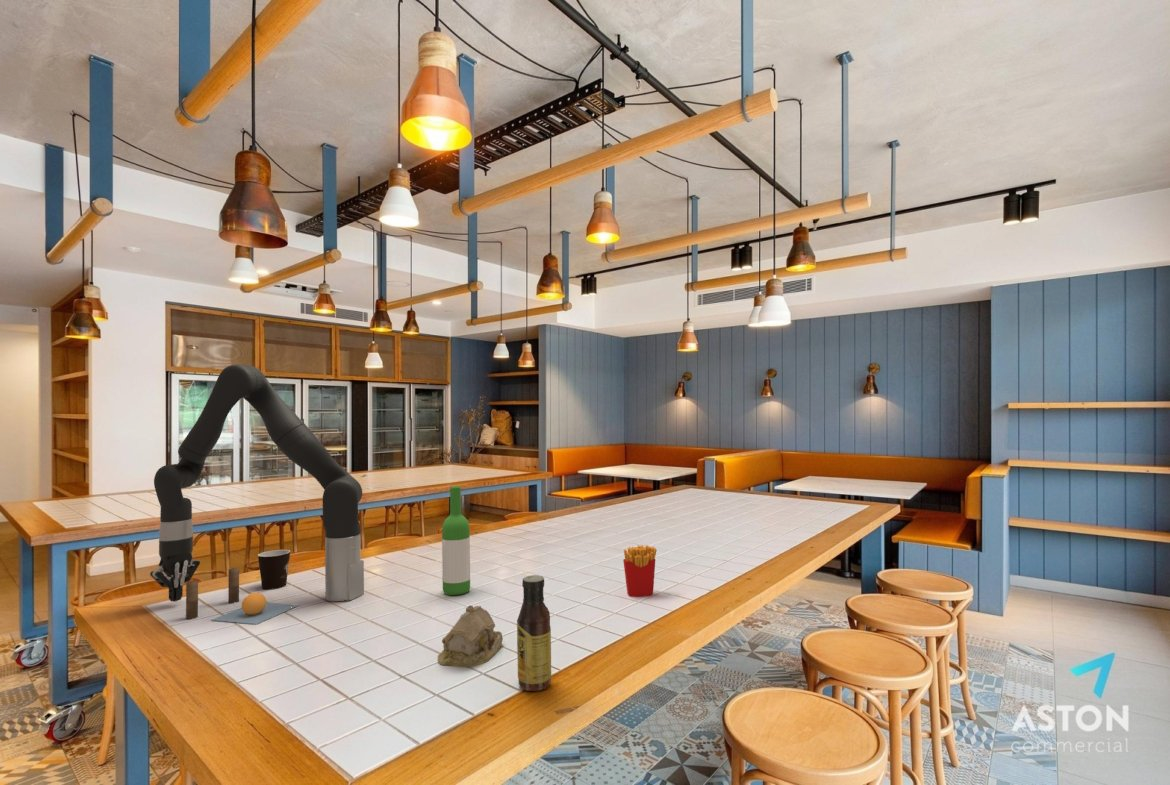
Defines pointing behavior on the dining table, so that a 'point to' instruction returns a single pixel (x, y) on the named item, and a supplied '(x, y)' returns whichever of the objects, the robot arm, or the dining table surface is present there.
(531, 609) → the sauce bottle
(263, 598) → the ball
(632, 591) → the french fries
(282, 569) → the coffee mug
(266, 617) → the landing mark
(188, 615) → the left post
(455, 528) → the wine bottle
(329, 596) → the robot arm
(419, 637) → the dining table surface
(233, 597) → the right post
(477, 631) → the ceramic model
